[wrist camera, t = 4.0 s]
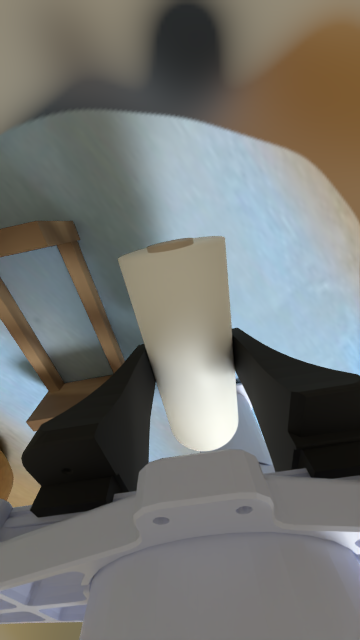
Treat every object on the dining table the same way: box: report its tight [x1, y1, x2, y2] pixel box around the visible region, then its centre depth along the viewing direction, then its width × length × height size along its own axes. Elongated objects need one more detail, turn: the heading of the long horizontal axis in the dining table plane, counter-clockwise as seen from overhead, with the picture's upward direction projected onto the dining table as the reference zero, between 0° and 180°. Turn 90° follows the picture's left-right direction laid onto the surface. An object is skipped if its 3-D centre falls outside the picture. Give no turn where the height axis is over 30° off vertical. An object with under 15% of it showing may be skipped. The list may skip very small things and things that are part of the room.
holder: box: [0, 221, 125, 431], centre depth 19 cm, size 18×10×5 cm, turn 11°
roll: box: [118, 236, 238, 451], centre depth 12 cm, size 12×5×5 cm
